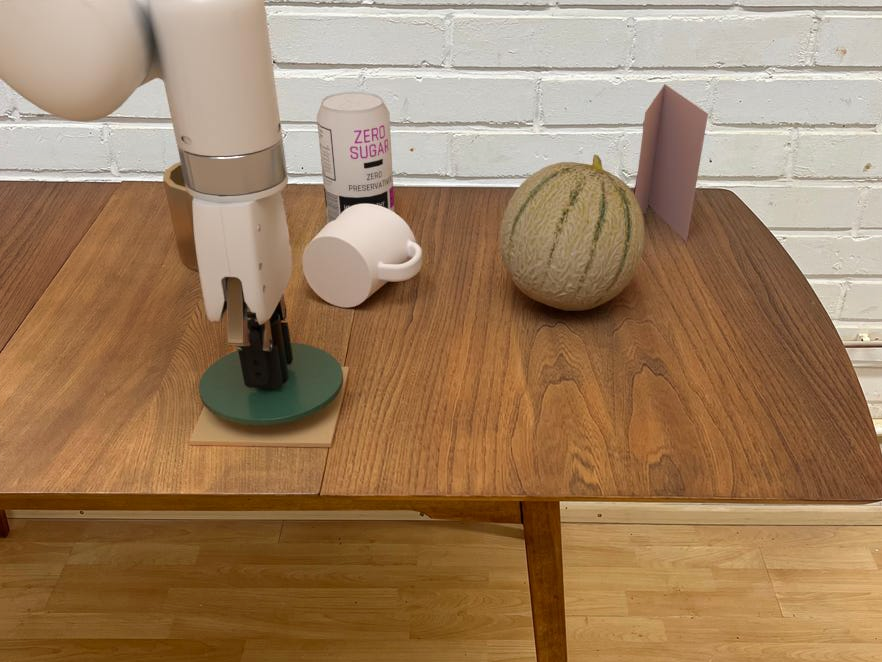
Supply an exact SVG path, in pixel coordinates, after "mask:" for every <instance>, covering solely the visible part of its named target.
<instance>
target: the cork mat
mask: <svg viewBox="0 0 882 662" xmlns="http://www.w3.org/2000/svg"><path fill="white" fill-rule="evenodd" d="M341 368H342V372H343V385H342V388H341V390H340V392H339V394H338V395H337V397H336V398H335V399H334V400H333V401H332V402H331V403H330V404H328V405H327V406H326V407H325V408H323V409H321V410H320V411H318V412H316V413H314V414H312V415H310V416H307V417H305V418H302V419H299V420H295V421H292V422H287V423H282V424H275V425H245V424H239V423H234V422H230V421H227V420H224V419H222V418H220V417H218V416H216V415H214V414H213V413H211V412H210V411H209V410H208V409H207V408H206V407H205V406H204V405H203V408H202V410H201V413H200V415H199V417H198V419H197V422H196V424H195V426H194V428H193V430H192V432H191V435H190V437H189V439H188V442H189V443H188V444H189V446H214V447H215V446H216V447H217V446H219V447H220V446H221V447H222V446H226V447H274V448H275V447H276V448H277V447H279V448H280V447H281V448H332V447H333V443H334V438H335V434H336V430H337V425H338V420H339V418H340V412H341V408H342V404H343V400H344V395H345V393H346V392H345V391H346V387H347V383H348V380H349V379H348V378H349V375H350V366H341Z"/></svg>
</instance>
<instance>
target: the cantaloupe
mask: <svg viewBox="0 0 882 662" xmlns="http://www.w3.org/2000/svg"><path fill="white" fill-rule="evenodd" d="M602 163H603V162H602V160H601V158H600V156H599V155H598V154H593V157H592V164H589V163H581V162H574V161H561V162H556V163H553V164H549V165H547V166H545V167H542V168H541V169H540V170H537V171H535V172H534V173H532V174H531V175H529V176H528V177H527V178H526V179H525V180H524V181H523V182H522V183H521V184H520V185H519V187H518V188H517V189H516V190H515V192H514V193H513V195H512V196H511V198H510V199H509V201H508V204H507V206H506V207H505V210H504V213H503V216H502V219H501V224H500V229H499V246H500V247H499V248H500V250H499V251H500V256H501V260H502V262H503V266H504V268H505V269H506V271H507V273H508V276H509V277H510V278H511V280H512V281H513V283H514V285H515V287H517V288H518V289H519V291H521V292H522V294H524V295H526V296H527V297H528V298H529V299H532V300H533V301H536V302H538V303H540V304H543V305H545V306H549V307H552V308H554V309H558V310H562V311H569V312H570V311H572V312H573V311H574V312H575V311H576V312H578V311H579V312H580V311H586V310H592V309H594V308H596V307H598V306H601V305H604V304H606V303H607V302H609V301H611V300H613V299H614V298H615V297H617V296H619V294H621V292H622V291H623V290H624V289H625V288H626V287H627V286H628V285H629V284H630V282H631V280H632V279H633V278H634V276H635V275H636V272H637V270H638V268H639V266H640V263H641V260H642V257H643V253H644V247H645V238H646V232H645V231H646V228H645V218H644V215H643V213H642V210H641V207H640V204H639V202H638V200H637V198H636V197H635V195H634V191H633V190H632V189H631V188H630V187H629V186H628V185H627V183H626V182H625V181H623V180H622V179H621V178H620V177H618V176H617V175H615V174H612V173H611V172H609V171H607V170H604V167H603V164H602Z"/></svg>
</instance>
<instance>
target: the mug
mask: <svg viewBox="0 0 882 662" xmlns="http://www.w3.org/2000/svg"><path fill="white" fill-rule="evenodd" d="M394 212H395V211H394ZM394 212H393V211H391V210H389V209H387V208H385V207H382V206H379V205H375V204H357V205H353V206H351V207H348V208H347V209H345V210H344V211H343V212H342V213H341V214H340V215H339V216H338V217H337V218H336V219H335V220H334V221H331V222H329V223H327V224H325V226H323V228H322V229H321V230H319V232H318V233H317V234H316V235H315V237H313V239H312V240H311V241H309V243H308V244H307V245H306V247H305V249H304V251H303V253H302V259H301V264H302V265H301V266H302V271H303V276H304V277H305V279H306V282H307V283H308V285H309V287H310V288H311V289H312V291H313V292H314V293H315V294H316V295H317V296H318V297H320V298H321V299H322V300H324V301H325V302H326V303H329V304H331V305H332V306H334V307H335V306H336V307H340V308H353V307H358V306H359V305H361V304H363V303H364V302H365V301H366V300H367V299H368V298H370V297H371V296H372V295H373V294H374V293H376V292H377V291H378V290H380V289H381V288H382V287H383V286H384V285H385V284H387V283H388V282H389V283H390V282H393V283H400V282H401V283H402V282H406V281H408V280H410V279H412V278H414V277H415V276H417V275H418V274H419V273H420V271H421V269H422V266H423V249H422V247H421V246H420V245H419V244H418V243H417V241H416V238H415V235H414V232H413V231H412V229H411V228H410V225H408V223H407V222H406V221H405V220H404V219H403V218H402V217H401V216H400V215H398V213H396V212H395V213H394Z"/></svg>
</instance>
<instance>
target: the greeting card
mask: <svg viewBox="0 0 882 662" xmlns="http://www.w3.org/2000/svg"><path fill="white" fill-rule="evenodd" d="M708 116H709V113H707V111H705V110H704V109H702V108H700V107H699V106H698V105H697V104H695V103H694V102H692V101H691V100H689V99H688V98H686V97H684V96H683V95H682V94H681V93H679V92H677V91H676V90H674V89H673V88H671V87H670V86H669V85H667V84H665V83H664V84H663V86H662V87H661V89H660V90H659V91H658V93H657V94H656V96H655V97H654V98H653V100H652V102H651V103H650V105H649V106H648V107H647V109H646V111H645V113H644V118H643V121H642V135H641V142H640V143H641V144H640V151H639V158H638V160H639V161H638V167H637V173H636V178H635V183H634V189H633V193H634V195H635V197H636V198H637V200H638V202H639V204H640V207H641V210H642V213H643V214H644V215H645V213H646V211H647V210H648V207H649V206H650V207H651V208H652V209H653V210H652V209H651V208H650V207H649V208H650V209H651V210H652V211H653V212H654V213H655V212H656V213H655V214H657V216H658V215H659V216H658V217H660V219H661V220H662V221H663V222H664V223H666V225H668V227H670V228H671V229H672V230H673V231H674V232H675V233H676V234H677V235H678V236H679V237H680V238H681V239H682V240H683V241H685V243H687V242H688V236H689V229H690V223H691V218H692V212H693V207H694V206H693V205H694V201H695V195H696V188H697V183H698V176H699V171H700V164H701V159H702V153H703V147H704V141H705V135H706V130H707V124H708V123H707V122H708V118H709V117H708ZM648 205H649V206H648Z"/></svg>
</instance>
